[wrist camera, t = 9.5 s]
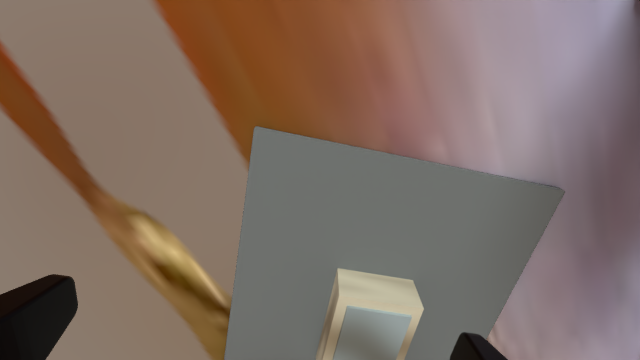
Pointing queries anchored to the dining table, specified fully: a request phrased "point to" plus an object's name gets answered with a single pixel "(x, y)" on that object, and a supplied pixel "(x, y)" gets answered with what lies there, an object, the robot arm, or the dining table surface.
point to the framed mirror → (369, 317)
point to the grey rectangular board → (374, 242)
